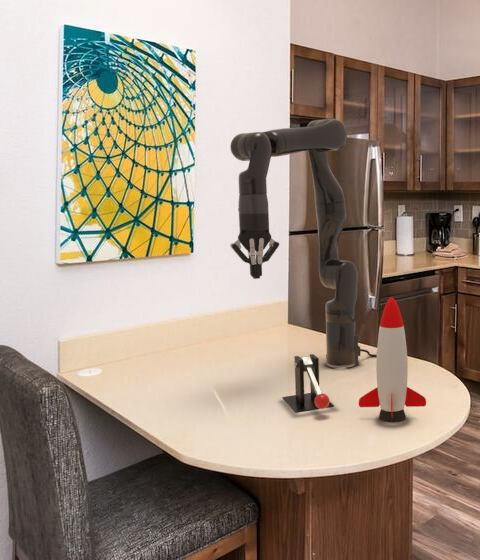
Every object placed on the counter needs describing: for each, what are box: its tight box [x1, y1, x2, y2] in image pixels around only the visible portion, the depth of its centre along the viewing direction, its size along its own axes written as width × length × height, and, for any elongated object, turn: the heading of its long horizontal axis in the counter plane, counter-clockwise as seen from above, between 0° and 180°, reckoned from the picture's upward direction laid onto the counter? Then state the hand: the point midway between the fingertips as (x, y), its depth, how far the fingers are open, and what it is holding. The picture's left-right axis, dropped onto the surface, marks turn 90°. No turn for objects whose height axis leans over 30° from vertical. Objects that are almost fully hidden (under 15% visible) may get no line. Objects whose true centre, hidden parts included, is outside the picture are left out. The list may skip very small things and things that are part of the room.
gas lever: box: [300, 355, 331, 410], centre depth 152 cm, size 16×4×4 cm
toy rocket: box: [358, 296, 427, 424], centre depth 147 cm, size 11×11×30 cm
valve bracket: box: [282, 353, 335, 414], centre depth 157 cm, size 12×10×13 cm
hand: (256, 278), depth 162 cm, fingers closed
